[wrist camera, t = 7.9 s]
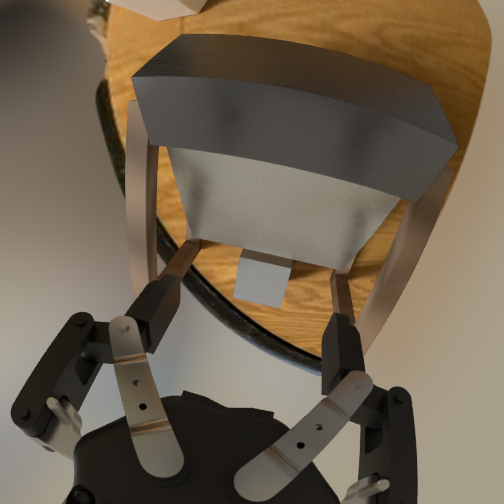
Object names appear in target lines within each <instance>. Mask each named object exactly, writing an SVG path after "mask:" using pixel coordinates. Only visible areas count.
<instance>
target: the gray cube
mask: <svg viewBox="0 0 504 504" xmlns="http://www.w3.org/2000/svg"><path fill="white" fill-rule="evenodd" d="M291 269H292V259H289V258H284V257H280V256H275V255H271V254H267V253H262V252H258V251H253V250H249V249H244V248H243V250H242V253H241V255H240V258H239V264H238V270H237V276H236V282H235V288H234V294H233V298H237V299H241V300H245V301H249V302H253V303H258V304H262V305H266V306H271V307H275V308H280V306H281V303H282V300H283V296H284V293H285V290H286V286H287V283H288V280H289V276H290V273H291Z"/></svg>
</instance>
